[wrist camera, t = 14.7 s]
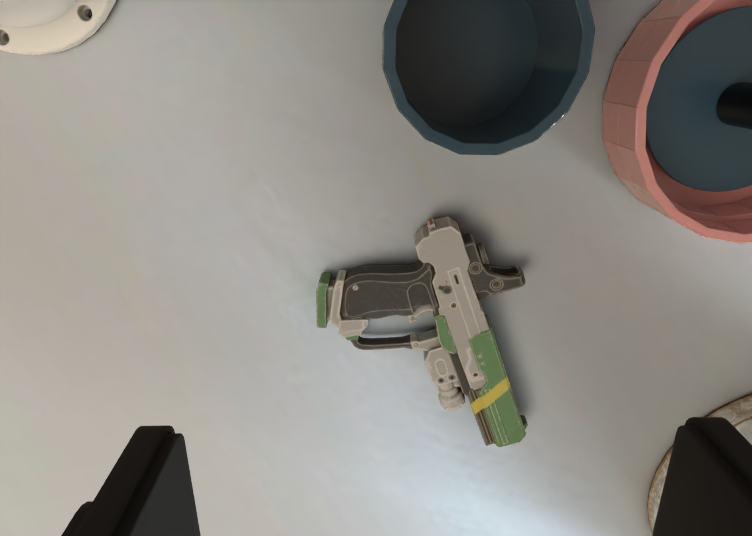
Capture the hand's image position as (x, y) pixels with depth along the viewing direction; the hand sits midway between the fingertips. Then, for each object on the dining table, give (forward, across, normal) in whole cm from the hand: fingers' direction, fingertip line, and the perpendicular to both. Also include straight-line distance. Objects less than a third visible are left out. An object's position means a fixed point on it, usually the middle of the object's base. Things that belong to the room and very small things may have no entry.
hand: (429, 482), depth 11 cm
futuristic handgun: (+29, -4, +13) cm, 32 cm away
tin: (+29, -5, -7) cm, 31 cm away
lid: (+28, -22, -4) cm, 36 cm away
